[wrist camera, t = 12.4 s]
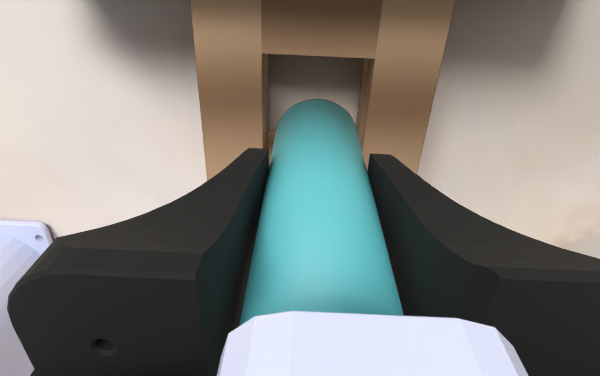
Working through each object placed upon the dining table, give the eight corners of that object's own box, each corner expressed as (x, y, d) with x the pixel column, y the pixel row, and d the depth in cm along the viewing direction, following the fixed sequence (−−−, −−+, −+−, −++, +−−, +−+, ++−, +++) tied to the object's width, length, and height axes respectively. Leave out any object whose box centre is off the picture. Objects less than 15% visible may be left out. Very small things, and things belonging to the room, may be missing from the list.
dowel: (352, 176, 15) (395, 408, 8) (275, 172, 15) (238, 401, 8) (361, 101, 14) (428, 297, 6) (275, 97, 14) (230, 288, 6)
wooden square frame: (397, 180, 22) (408, 210, 20) (220, 172, 22) (209, 201, 20) (436, -19, 17) (458, -13, 15) (205, -30, 17) (187, -26, 15)
